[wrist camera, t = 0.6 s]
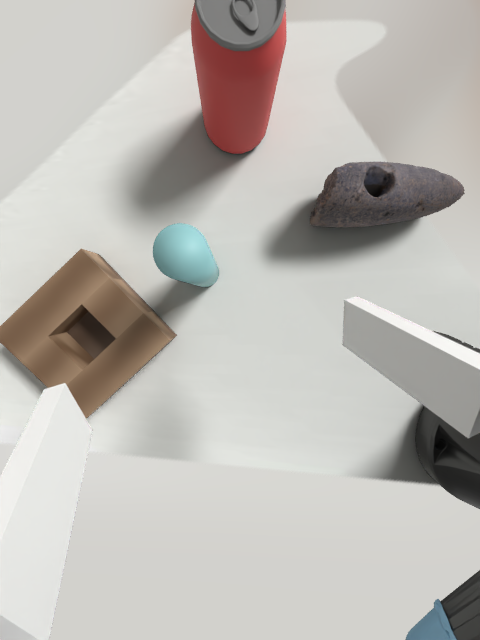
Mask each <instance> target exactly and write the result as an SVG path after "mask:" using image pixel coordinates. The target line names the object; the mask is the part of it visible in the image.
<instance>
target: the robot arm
mask: <svg viewBox="0 0 480 640" xmlns="http://www.w3.org/2000/svg"><path fill="white" fill-rule="evenodd" d="M342 345H343V346H345V347H346V348H347V349H349V350H350V351H351V352H353V353H354V354H355V355H357V356H358V357H359V358H361V359H362V360H363V361H365V362H366V363H367V364H369V365H370V366H371V367H373V368H374V369H375V370H377V371H378V372H379V373H381V374H382V375H384V376H385V377H386V378H388V379H389V380H390V381H392V382H393V383H394V384H396V385H397V386H398V387H400V388H401V389H402V390H404V391H405V392H406V393H408V394H409V395H410V396H412V397H413V398H414V399H416V400H417V401H418V402H420V403H421V404H422V405H424V406H425V407H424V409H423V411H422V413H421V415H420V418H419V421H418V424H417V429H416V448H417V453H418V456H419V459H420V461H421V463H422V465H423V467H424V469H425V470H426V471H427V473H428V474H429V475H430V476H431V477H432V478H433V479H434V480H435V481H436V482H437V483H439V484H440V485H441V486H442V487H443V488H444V489H445V490H446V491H448V492H449V493H450V494H452V495H454V496H455V497H456V498H458V499H460V500H462V501H464V502H466V503H468V504H470V505H472V506H474V507H476V508H479V509H480V349H478V348H473V346H471V345H469V344H467V343H465V342H464V343H462V341H460V340H458V339H456V338H454V337H451V336H449V335H446V334H443V333H439V332H435V331H431V330H428V329H426V328H424V327H422V326H420V325H418V324H416V323H413V322H411V321H409V320H407V319H405V318H403V317H401V316H398V315H396V314H394V313H392V312H390V311H388V310H386V309H383V308H381V307H379V306H377V305H375V304H373V303H371V302H369V301H366V300H364V299H362V298H360V297H358V296H356V297H353V298H349V299H346V300H344V321H343V344H342ZM92 431H93V430H92V428H91V426H90V425H89V423H88V421H87V420H86V418H85V416H84V414H83V413H82V411H81V409H80V408H79V406H78V404H77V402H76V401H75V399H74V397H73V396H72V394H71V392H70V390H69V389H68V387H67V385H66V384H65V383H63V384H60V385H57V386H53V387H50V388H46V389H44V390H43V392H42V394H41V396H40V398H39V400H38V402H37V404H36V406H35V408H34V410H33V412H32V414H31V416H30V418H29V420H28V422H27V424H26V426H25V428H24V430H23V432H22V434H21V436H20V438H19V440H18V442H17V444H16V446H15V448H14V450H13V452H12V454H11V456H10V458H9V460H8V462H7V464H6V466H5V468H4V470H3V472H2V474H1V476H0V640H49V638H50V633H51V628H52V624H53V619H54V614H55V609H56V604H57V599H58V594H59V590H60V585H61V580H62V575H63V571H64V566H65V561H66V556H67V551H68V546H69V541H70V537H71V532H72V527H73V522H74V518H75V513H76V508H77V503H78V498H79V493H80V489H81V484H82V479H83V474H84V469H85V464H86V460H87V455H88V450H89V445H90V441H91V436H92ZM406 640H480V571H478V572H477V573H476V574H474V575H473V576H472V577H471V578H469V579H468V580H467V581H466V582H464V583H463V584H462V585H461V586H459V587H458V588H457V589H456V590H454V591H453V592H452V593H451V594H449V595H448V596H447V597H446V598H444V599H443V600H442V601H441V602H440V600H439V599H437V600H436V601H435V602H434V608H433V609H432V610H431V611H430V612H429V613H428V614H427V615H426V616H425V617H423V619H421V620H420V621H419V622H418V623H417V624H416V625H415V626H414V627H413V628H412V629H411V630H410V631H409V632H408V634H407V637H406Z"/></svg>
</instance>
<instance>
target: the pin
mask: <svg viewBox="0 0 480 640" xmlns="http://www.w3.org/2000/svg"><path fill="white" fill-rule="evenodd" d="M153 257H154V260H155V263H156V265H157V267H158V268H159V269H160V271H161V272H162V273H163V274H165V275H166V276H168V277H170V278H172V279H176V280H179V281H183V282H186V283H190V284H193V285H197V286H200V287H209V286H211V285H213V284H214V283H215V282H216V281H217V279H218V276H219V269H218V266H217V264H216V262H215V259H214V257H213V255H212V253H211V250H210V248H209V246H208V243H207V241H206V239H205V237H204V236H203V234H202V233H201V232H200V231H199V230H198V229H196V228H195V227H193V226H191V225H188V224H182V223H178V224H173V225H170V226H168V227H166V228H164V229H163V230H162V231H161V232H160V233H159V234H158V236H157V237H156V239H155V242H154V245H153Z"/></svg>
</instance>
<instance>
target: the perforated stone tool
mask: <svg viewBox="0 0 480 640" xmlns="http://www.w3.org/2000/svg"><path fill="white" fill-rule="evenodd" d="M463 194H464V187H463V186H462V184H461V183H460V182H459V181H458V180H456V179H454V178H453V177H452V176H450V175H447V174H443V173H440V172H439V171H437V170H434V169H429V168H425V167H416V166H413V165H406V164H400V163H389V162H359V163H348V164H345V165H343V166H341V167H338V168H335V169H334V171H333V172H332V174H330V175H328V177H327V179H326V180H325V184H324V190H323V191H322V193H320V194H319V196H318V200H317V203H316V206H315V208H314V211H312V212H311V218H310V224H311V225H312V226H320V227H364V226H373V225H383V224H389V223H396V222H401V221H407V220H411V219H416V218H420V217H423V216H427V215H430V214H433V213H435V212H438V211H440V210H442V209H444V208H446V207H449V206H451V205H452V204H453V203H455V202H456V201H457V200H459V199H460V198H461V196H462V195H463Z"/></svg>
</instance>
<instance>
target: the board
mask: <svg viewBox="0 0 480 640" xmlns="http://www.w3.org/2000/svg"><path fill="white" fill-rule="evenodd" d="M176 336H177V335H176V334H175V333H174V332H173V331H172V329H171V328H170V327H169V326H168V325H167V324H166V323H165V322H164V321H163V320H162V319H161V318H160V317H159V316H158V315H157V314H156V313H155V312H154V311H153V310H152V309H151V308H150V307H149V306H148V305H147V304H146V302H145V301H144V300H143V299H142V298H141V297H140V296H139V295H138V294H137V293H136V292H135V291H134V290H133V289H132V288H131V287H130V286H129V285H128V284H127V283H126V282H125V281H124V280H123V279H122V278H121V277H120V275H119V274H118V273H117V272H116V271H115V270H114V269H113V268H112V267H111V266H110V265H109V264H108V263H107V262H106V261H105V260H104V259H103V258H102V257H101V256H100V255H99V254H96V253H93V252H90V251H87V250H83V249H80V250H79V251H78V252H77V253H76V254H75V255H74V256H73V257H72V258H71V259H70V260H69V261H68V262H67V263H66V264H65V265H64V266H63V267H62V268H61V269H60V270H58V271H57V272H56V273H55V274H54V275H53V276H52V277H51V278H50V279H49V280H48V281H47V282H46V283H45V284H44V285H43V286H42V287H41V288H40V289H39V290H38V291H37V292H36V293H35V294H33V295H32V296H31V297H30V298H29V299H28V300H27V301H26V302H25V303H24V304H23V305H22V306H21V307H20V308H19V309H18V310H17V311H16V312H15V313H14V314H13V315H12V316H11V317H10V318H8V319H7V320H6V321H5V322H4V323H3V324H2V325H1V326H0V343H2V344H3V345H4V346H5V347H6V348H7V349H8V350H9V351H10V352H11V353H12V354H13V355H14V356H15V357H16V358H17V359H18V360H19V361H20V362H22V363H23V364H24V365H25V366H26V367H27V368H28V369H29V370H30V371H31V372H32V373H33V374H34V375H35V376H36V377H37V378H38V379H39V380H40V381H42V382H43V383H44V384H45V385H46V386H47V387H48V388H50V387H53V386H57V385H60V384H63V383H65V384H66V385H67V387H68V389H69V390H70V392H71V394H72V396H73V397H74V399H75V401H76V402H77V404H78V406H79V408H80V409H81V411H82V413H83V414H84V416H85V418H87V417H89V416H90V415H91V414H92V413H93V412H94V411H96V410H97V409H98V408H99V407H100V406H101V405H102V404H103V403H105V402H106V401H107V400H108V399H109V398H110V397H111V396H112V395H113V394H114V393H115V392H116V391H118V390H119V389H120V388H121V387H122V386H123V385H124V384H125V383H126V382H127V381H128V380H129V379H130V378H132V377H133V376H134V375H135V374H136V373H137V372H138V371H139V370H140V369H141V368H142V367H143V366H144V365H146V364H147V363H148V362H149V361H150V360H151V359H152V358H153V357H154V356H155V355H156V354H157V353H159V352H160V351H161V350H162V349H163V348H164V347H165V346H166V345H167V344H168V343H169V342H170V341H171V340H173V339H174V338H175V337H176Z"/></svg>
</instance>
